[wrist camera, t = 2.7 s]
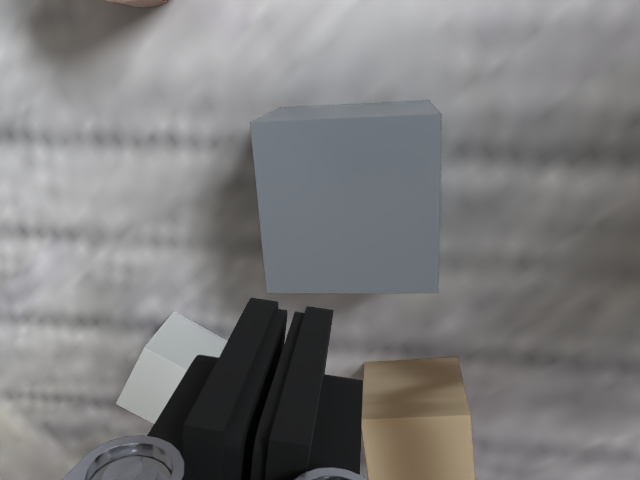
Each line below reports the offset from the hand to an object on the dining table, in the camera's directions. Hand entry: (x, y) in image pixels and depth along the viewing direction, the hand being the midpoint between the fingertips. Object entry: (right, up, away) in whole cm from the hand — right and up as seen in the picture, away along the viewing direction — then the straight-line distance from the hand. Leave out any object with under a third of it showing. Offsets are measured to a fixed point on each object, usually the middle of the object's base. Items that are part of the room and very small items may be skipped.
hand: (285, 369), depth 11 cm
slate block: (+2, +6, +15) cm, 17 cm away
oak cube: (+6, -6, +19) cm, 21 cm away
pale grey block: (-6, -4, +20) cm, 21 cm away
